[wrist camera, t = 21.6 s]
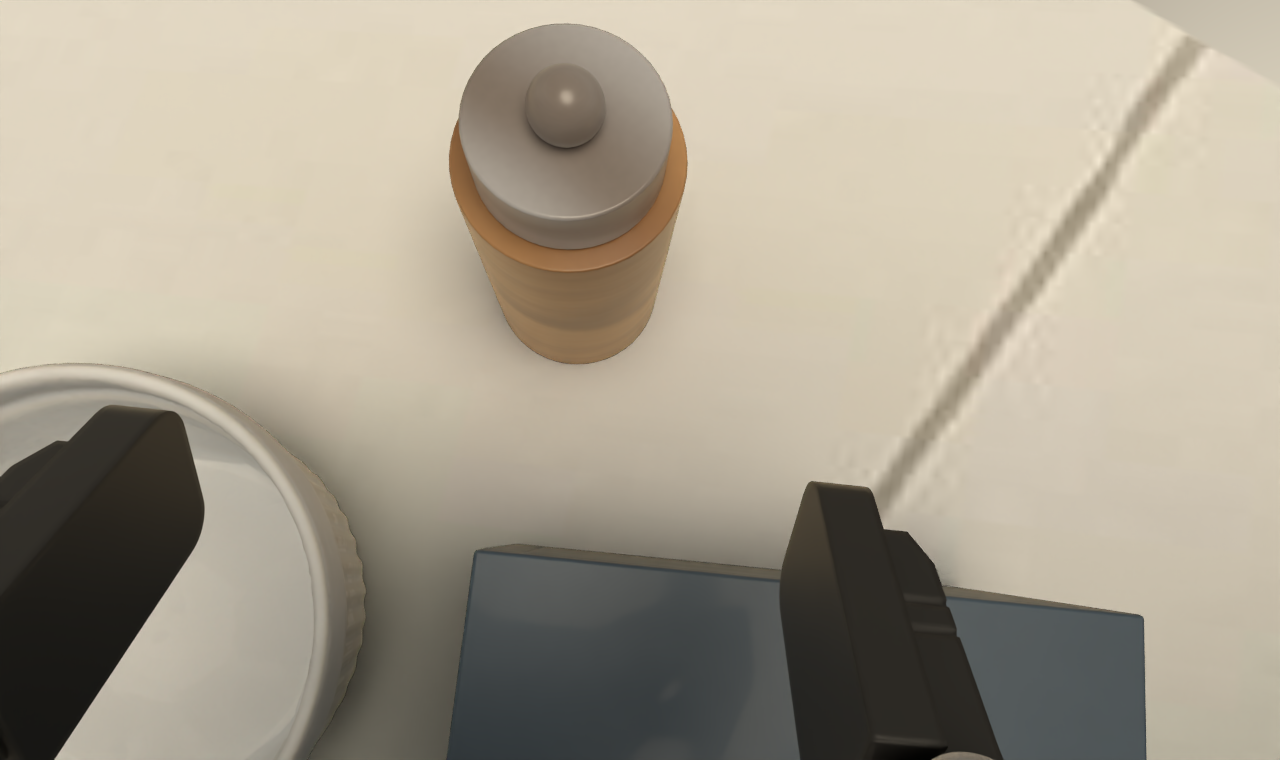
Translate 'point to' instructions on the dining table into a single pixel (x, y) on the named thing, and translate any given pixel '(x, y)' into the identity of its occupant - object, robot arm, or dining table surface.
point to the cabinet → (746, 664)
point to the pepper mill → (569, 186)
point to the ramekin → (215, 583)
